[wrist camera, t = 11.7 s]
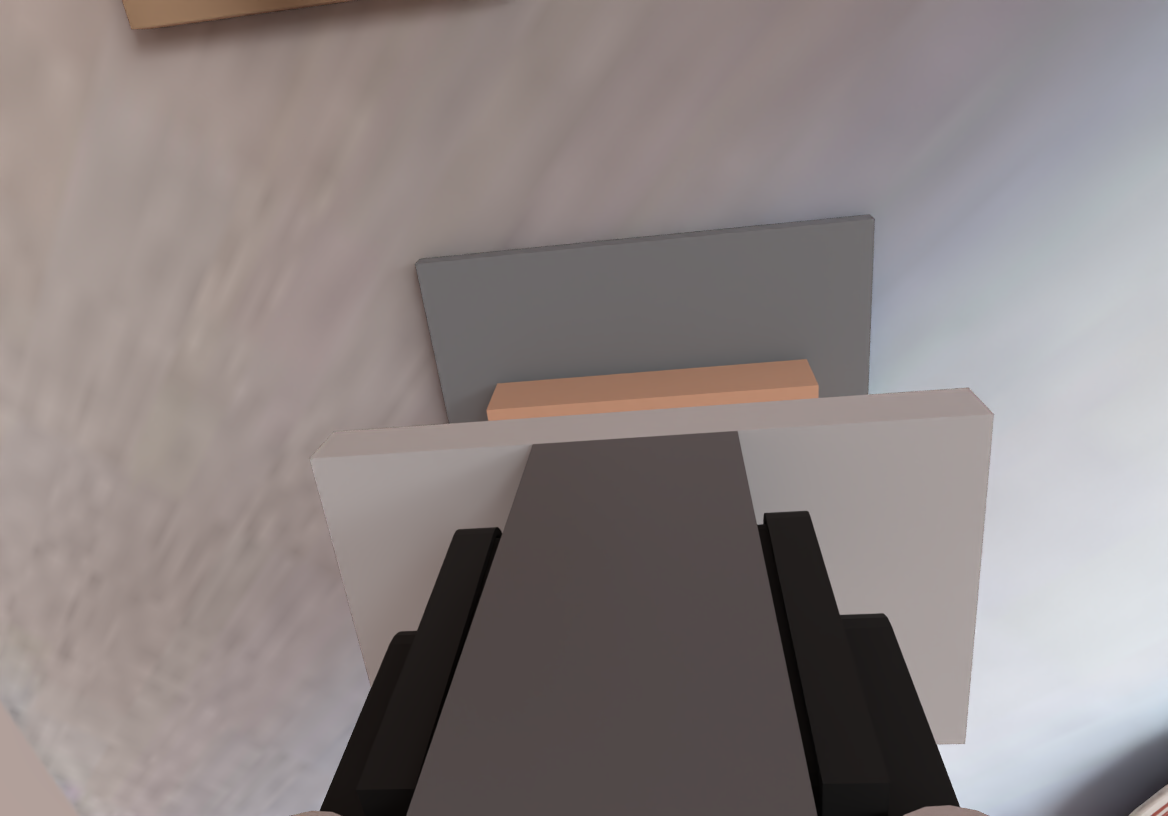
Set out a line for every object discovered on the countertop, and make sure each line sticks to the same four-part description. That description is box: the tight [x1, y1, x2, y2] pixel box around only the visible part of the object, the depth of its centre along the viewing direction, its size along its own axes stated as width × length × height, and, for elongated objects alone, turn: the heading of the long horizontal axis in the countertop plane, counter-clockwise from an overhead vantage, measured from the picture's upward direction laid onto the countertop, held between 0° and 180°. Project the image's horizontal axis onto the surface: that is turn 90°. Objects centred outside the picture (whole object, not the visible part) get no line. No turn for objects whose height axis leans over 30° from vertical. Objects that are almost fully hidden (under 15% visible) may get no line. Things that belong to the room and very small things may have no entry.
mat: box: [415, 214, 875, 424], centre depth 28 cm, size 14×16×1 cm
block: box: [486, 359, 819, 421], centre depth 27 cm, size 10×2×8 cm
